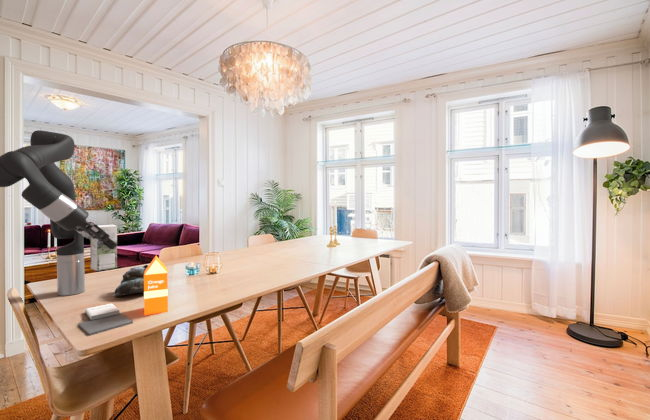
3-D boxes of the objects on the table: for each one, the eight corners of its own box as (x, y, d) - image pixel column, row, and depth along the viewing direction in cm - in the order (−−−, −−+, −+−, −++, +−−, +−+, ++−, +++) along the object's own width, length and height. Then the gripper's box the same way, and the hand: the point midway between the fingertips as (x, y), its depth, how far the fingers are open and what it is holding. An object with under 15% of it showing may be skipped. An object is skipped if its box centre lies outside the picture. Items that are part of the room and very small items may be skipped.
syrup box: (110, 265, 104) (109, 223, 104) (117, 268, 101) (117, 224, 100) (90, 268, 100) (89, 224, 99) (97, 271, 96) (96, 226, 96)
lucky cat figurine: (106, 298, 126) (110, 265, 132) (130, 301, 137) (133, 271, 143) (135, 290, 123) (138, 257, 129) (158, 293, 134) (160, 263, 140)
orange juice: (143, 315, 109) (143, 260, 108) (144, 307, 117) (144, 255, 116) (168, 311, 113) (167, 258, 112) (167, 304, 121) (167, 254, 120)
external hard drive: (90, 321, 102) (85, 312, 111) (119, 314, 108) (112, 307, 117) (90, 316, 102) (85, 308, 111) (119, 309, 108) (112, 302, 117)
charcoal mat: (77, 325, 100) (77, 323, 100) (119, 314, 110) (119, 312, 110) (89, 335, 93) (89, 333, 93) (133, 322, 102) (133, 321, 102)
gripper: (84, 203, 89) (129, 239, 100) (66, 202, 97) (109, 235, 108) (62, 222, 85) (110, 257, 96) (44, 219, 93) (91, 252, 103)
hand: (109, 246), depth 102 cm, fingers closed on syrup box, 6 cm apart
